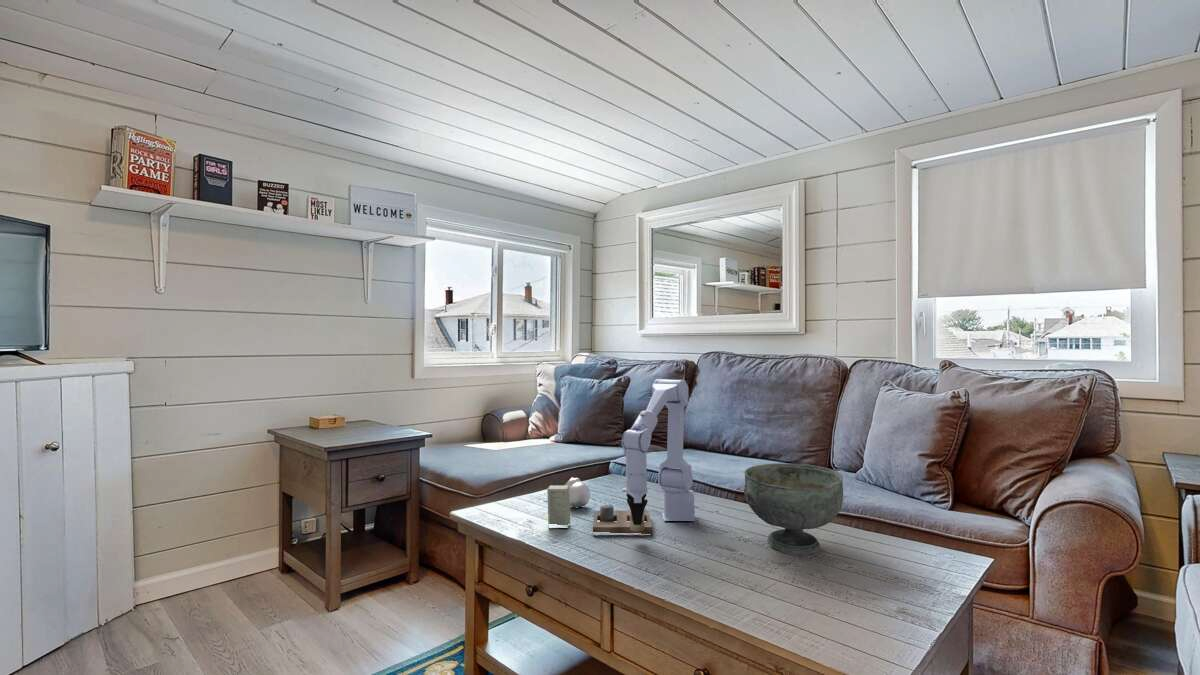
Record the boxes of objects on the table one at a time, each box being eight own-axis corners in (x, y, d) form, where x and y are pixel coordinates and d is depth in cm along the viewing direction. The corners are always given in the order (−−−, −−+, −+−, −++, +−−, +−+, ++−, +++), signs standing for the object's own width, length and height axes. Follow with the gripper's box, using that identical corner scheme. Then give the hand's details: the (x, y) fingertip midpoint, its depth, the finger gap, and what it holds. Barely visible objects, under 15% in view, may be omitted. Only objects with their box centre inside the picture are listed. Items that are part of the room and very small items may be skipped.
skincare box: (570, 524, 174) (570, 485, 174) (568, 529, 170) (567, 488, 170) (550, 524, 175) (549, 484, 175) (547, 529, 171) (547, 488, 171)
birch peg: (643, 526, 161) (643, 505, 161) (644, 531, 157) (644, 509, 157) (629, 526, 161) (629, 505, 161) (630, 531, 157) (629, 509, 157)
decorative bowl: (856, 569, 138) (854, 486, 139) (747, 562, 144) (746, 482, 144) (834, 533, 164) (833, 463, 165) (742, 528, 170) (741, 460, 170)
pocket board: (648, 518, 180) (648, 499, 180) (652, 535, 164) (651, 514, 164) (594, 518, 180) (594, 499, 180) (592, 535, 164) (592, 515, 164)
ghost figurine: (578, 502, 199) (578, 473, 199) (595, 508, 192) (595, 478, 192) (557, 507, 193) (557, 477, 193) (574, 513, 186) (574, 482, 186)
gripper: (621, 467, 166) (622, 513, 166) (622, 479, 152) (623, 530, 152) (645, 467, 166) (646, 513, 166) (649, 479, 152) (649, 530, 152)
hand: (637, 521), depth 159 cm, fingers closed on birch peg, 4 cm apart
